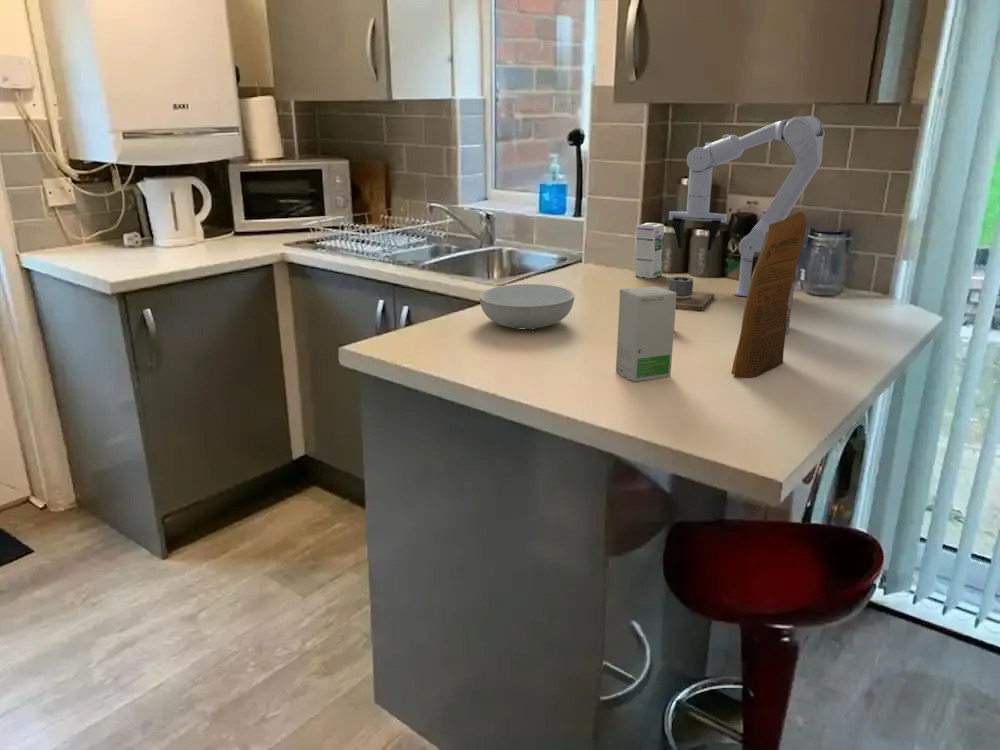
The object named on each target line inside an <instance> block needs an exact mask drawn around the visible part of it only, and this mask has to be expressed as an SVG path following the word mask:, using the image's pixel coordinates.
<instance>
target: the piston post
mask: <svg viewBox="0 0 1000 750" xmlns="http://www.w3.org/2000/svg"><path fill="white" fill-rule="evenodd" d="M678 281H683V280H678ZM690 298H691V295H689V296H676V300H687V299H690Z"/></svg>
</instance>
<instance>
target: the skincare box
mask: <svg viewBox="0 0 1000 750" xmlns="http://www.w3.org/2000/svg"><path fill="white" fill-rule="evenodd" d="M666 289H667V288H662V287H659V286H647V287H644V286H643V287H632V288H631V287H629V288H621V289H620V288H619V304H618V307H619V308H618V324H617V342H616V343H617V345H616V358H615V359H616V362H615V373H617V374H619V375H620V374H621V375H620V376H622V375H623V376H622V377H624V378H626V379H627V378H628V380H629V381H632V382H635V383H636V382H640V381H641V382H642V381H649V380H655V379H661V378H669V377H671V374H672V373H671V372H672V360H673V346H674V345H673V344H674V333H675V324H674V321H675V320H676V309H677V308H676V294H677V293H676V292H673V291H670V290H669V289H668V290H666ZM675 322H676V321H675Z"/></svg>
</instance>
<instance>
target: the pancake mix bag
mask: <svg viewBox="0 0 1000 750" xmlns="http://www.w3.org/2000/svg"><path fill="white" fill-rule="evenodd" d="M806 231H807V217H806V215H805V214H804V212H803V211H800V212H797V213H794V214H792V215H789V216H787V218H786V219H784V220H782V221H779V222H777V223H773V224H771V225H769V230H768V232H766V236H765V240H764V243H763V246H762V248H761V252H760V255H759V258H758V260H757V263H756V265H755V268H754V271H753V274H752V277H751V281H750V286H749V291H748V296H746V301H745V305H744V310H743V316H742V321H741V328H740V329H741V331H740V334H739V340H738V344H737V347H736V350H735V354H734V357H733V362H732V363H733V364H732V368H731V374H733V378H737V379H753V378H757V377H760V376H761V375H763V374H765V373H767V372H770V371H771V370H773V369H775V368H776V367H779V366H781V365H784V355H785V353H784V351H785V342H786V322H787V309H788V300H789V295H790V292H791V286H792V282H793V279H794V276H795V273H796V274H797V270H796V269H798V263H799V257H800V253H801V248H802V246H803V242H804V239H805V235H806Z"/></svg>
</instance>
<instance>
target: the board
mask: <svg viewBox="0 0 1000 750" xmlns="http://www.w3.org/2000/svg"><path fill="white" fill-rule="evenodd" d="M665 289H666V290H669V288H668V289H667V288H665ZM714 298H715V293H707V292H697V291H692V295H691V298H690V299H687V300H676V308H675V309H678V310H682V309H683V310H688V309H692V310H691V311H698V310H701V311H700V312H702V311H703V310H704V309H705V308H706V307H707V306H709V304H710V303H709V302H710V301H711V300H712V301H713V299H714ZM712 301H711V302H712Z"/></svg>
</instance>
